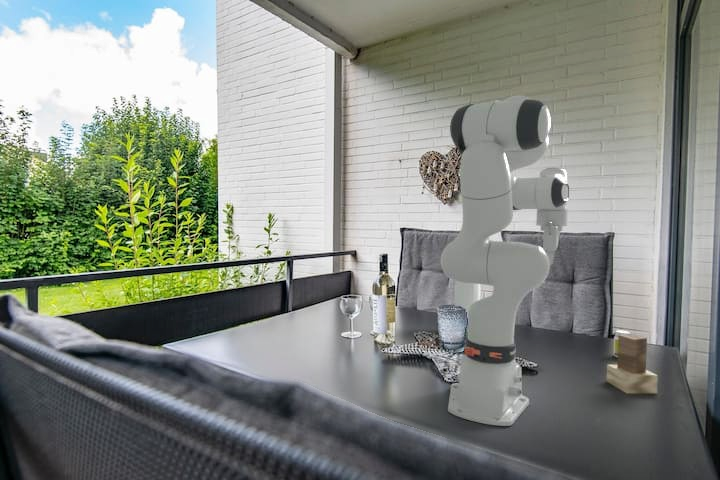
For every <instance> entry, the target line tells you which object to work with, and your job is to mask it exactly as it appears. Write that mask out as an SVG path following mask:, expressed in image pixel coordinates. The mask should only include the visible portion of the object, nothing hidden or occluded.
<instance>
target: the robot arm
mask: <svg viewBox="0 0 720 480" xmlns="http://www.w3.org/2000/svg"><path fill="white" fill-rule="evenodd" d="M550 128H551V113H550V111H549V108H548V106H547V105H546V104H545V103H543V102H542V101H541V100H536V99H532V98H530V97H527V96H526V95H519V94H518V95H513V96H509V97H508V98H505V99H504V100H491V101H486V102H481V103H476V104H473V103H470V104H468V105H464V106H461V107H459V108H458V109H456V110H455V112H454V114H453V116H452V118H451V120H450V126H449V132H450V137H451V141H452V142H453V144H454V145H455V147H456V149H458V152H459V153H460V154H461V157H460V166H459V167H460V171H459V173H460V174H459V183H460V184H459V186H460V195H461V196H460V197H461V204H462V225H461V229H460V231H459V233H458V234H457V236H456V237H455V238H454V239H453V240H452V241H450V242H449V243H447V245H446V246H445V247H444V248H443V250H442V252H441V256H440V267H441V270H442V272H443V274H444V275H445V277H446V278H448V279H451V280H452V281H455V280H456V281H460V282H464V283H472V284H481V285H485V286H491V287H493V291H492V294H491V295H489V296H486V297H484V298H482V299H481V298H480V300H478V301H476V302H475V303H473V304H472V305H471V306H470V308H469V311H468V327H467V336H466V337H465V342H464V351H463V352H464V354H463V355H462V356H461V357H460V360H459V361H460V368H459V370H460V372H459V375H457V376H456V377H455V380H456V382H455V383H452V384H451V385H450V391H449V399H448V405H447V411H448V412H449V413H450V414H452V415H454V416H456V417H459V418H461V419H464V420H469V421H472V422H476V423H479V424H484V425H490V426H497V427H498V426H502V427H507V426H508V427H510V426H512V425H513V424H514V423H515V422H516V420H517V419H518V418H519V417H520V415H521V414H522V413H524V411H525V410H526V408H527V407H528V406H529V405H530V399H529V398H528V397H527V396H525V395H523V394H522V367H521V366H520V364H518V362H517V361H516V359H515V358H516V352H517V348H516V342H515V337H514V336H515V324H516V317H517V312H518V309H519V308H520V307H519V306H520V304H521V303H522V301H523V300H524V298H525V297H526V296H527V295H528V294H529V293H530V292H531V291H533V290H535V289H536V288H538V287H540V285H542V284H543V283H544V282H545V281H546V279H547V277H548V276H549V273H550V269H551V266H552V265H554V261H555V252H556V251H557V249H558V246H559V242H560V235H561V232H563V227H566V226H568V211H569V210H568V207H567V203H568V201H569V198H570V197H569V196H570V195H569V194H570V193H569V192H570V186H569V183H568V182H569V181H568V174H567V171H566V170H565V169H563V168H558V167H548V168H545V169H542V170H540V172H539V176H538V177H524V178H522V177H517V176H515V170H518V169H522V168H525V167H529V166H532V165H533V164H535V163H536V162H538V161H539V160H540V159H542V157H543V156H544V155H545V153H546V151H547V150H548V148H549V132H550ZM521 210H536V226H538V227H539V226H540V232H543V240H542V241H543V243H542V247H541V246H540V245H536V244H532V243H527V242H522V241H501V240H500V241H499V240H496V241H495V240H490V237H491V236H493V235H496V234H498V233H501V232H502V231H503V230H505V229H506V228H508V226H510V225H511V222H512V220H513V217H514V211H521Z"/></svg>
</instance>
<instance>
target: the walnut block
mask: <svg viewBox="0 0 720 480" xmlns="http://www.w3.org/2000/svg"><path fill="white" fill-rule="evenodd" d="M647 346H648V338H647V337H644V336H640V335H636V334H632V333H630V334H624V335H618V357H617V364H616V365H617V368H619V369H622V370H625V371H627V372H630V373H633V374H634V373H641V372H646V370H647V354H648V353H647V352H648V351H647V349H648V348H647Z"/></svg>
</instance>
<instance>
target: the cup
mask: <svg viewBox="0 0 720 480" xmlns="http://www.w3.org/2000/svg"><path fill="white" fill-rule="evenodd" d="M454 283H455V284H454V305H455V307H456V306H461V307H464V308H465V309H466V312H467V318H468V311H469V308H470V306H471V305H472V304H473V303H475V302H476V301H478V300H481V295H482V294H481V293H482V291H481V289H482V288H481V286H482V284H472V283H464V282H460V281H456V280H454Z"/></svg>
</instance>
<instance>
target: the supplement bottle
mask: <svg viewBox="0 0 720 480" xmlns="http://www.w3.org/2000/svg"><path fill="white" fill-rule="evenodd" d="M624 334H631V332H629V331H628V330H622V329H620V330H615V333H614V335H615V336H614V337H613V348H612V349H613V352H612V353H613V356H614V357H616V358H618V335H624Z"/></svg>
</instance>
